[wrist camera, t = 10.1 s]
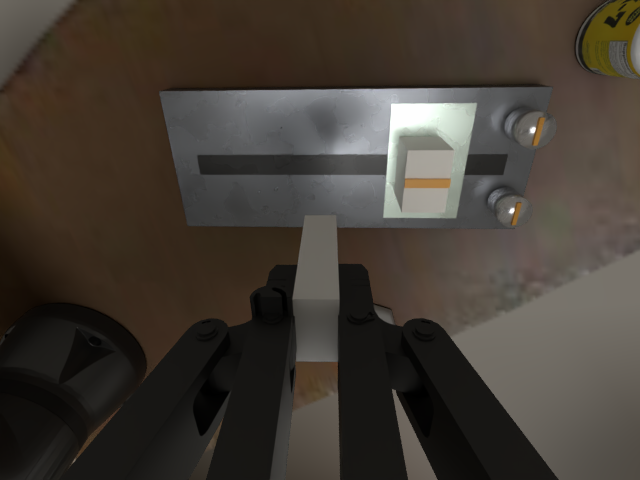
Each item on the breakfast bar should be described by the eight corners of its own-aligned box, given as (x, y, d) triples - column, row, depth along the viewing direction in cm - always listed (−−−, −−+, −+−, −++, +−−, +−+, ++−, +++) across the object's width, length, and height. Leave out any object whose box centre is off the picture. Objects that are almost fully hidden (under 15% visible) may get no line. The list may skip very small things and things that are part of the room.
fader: (393, 192, 29) (401, 213, 25) (398, 136, 27) (408, 151, 23) (431, 192, 29) (445, 214, 25) (439, 136, 27) (455, 151, 23)
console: (195, 216, 33) (175, 240, 29) (170, 88, 28) (141, 95, 24) (504, 218, 32) (528, 243, 28) (539, 84, 27) (574, 91, 22)
